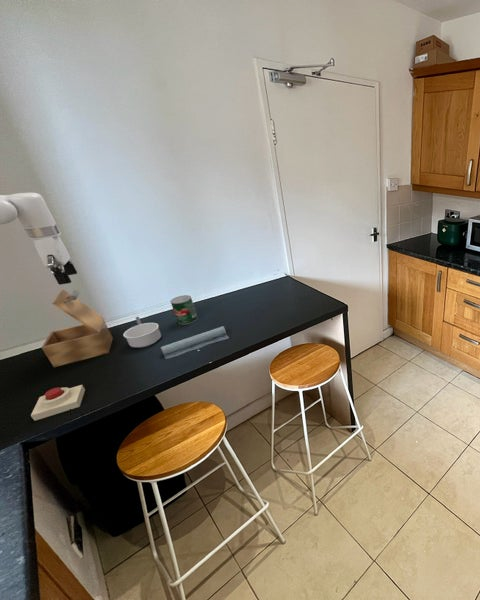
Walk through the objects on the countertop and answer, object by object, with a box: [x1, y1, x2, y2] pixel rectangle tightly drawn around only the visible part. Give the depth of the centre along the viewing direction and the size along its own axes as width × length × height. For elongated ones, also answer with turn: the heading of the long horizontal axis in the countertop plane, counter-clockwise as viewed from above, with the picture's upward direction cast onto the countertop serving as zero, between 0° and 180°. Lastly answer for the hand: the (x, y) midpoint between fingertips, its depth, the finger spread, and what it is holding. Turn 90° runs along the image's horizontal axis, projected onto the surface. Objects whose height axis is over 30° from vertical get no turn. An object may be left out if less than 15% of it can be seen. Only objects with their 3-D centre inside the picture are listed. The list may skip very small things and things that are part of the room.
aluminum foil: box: [160, 325, 230, 360], centre depth 126 cm, size 23×7×3 cm, turn 133°
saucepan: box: [123, 316, 162, 348], centre depth 130 cm, size 12×20×6 cm, turn 42°
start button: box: [44, 387, 64, 400], centre depth 96 cm, size 4×4×2 cm
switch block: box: [30, 384, 86, 421], centre depth 97 cm, size 10×9×4 cm
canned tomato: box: [169, 294, 199, 326], centre depth 142 cm, size 8×8×11 cm
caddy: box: [41, 320, 114, 368], centre depth 121 cm, size 16×13×9 cm
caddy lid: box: [52, 289, 105, 334], centre depth 118 cm, size 16×13×5 cm
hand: (68, 278), depth 112 cm, fingers open, 9 cm apart
